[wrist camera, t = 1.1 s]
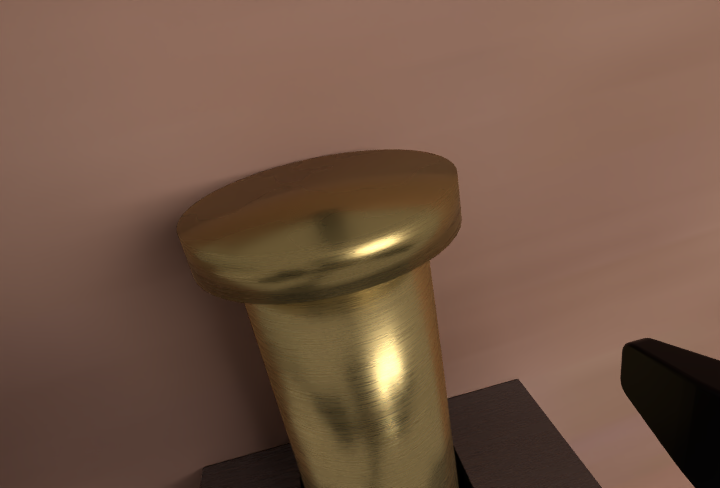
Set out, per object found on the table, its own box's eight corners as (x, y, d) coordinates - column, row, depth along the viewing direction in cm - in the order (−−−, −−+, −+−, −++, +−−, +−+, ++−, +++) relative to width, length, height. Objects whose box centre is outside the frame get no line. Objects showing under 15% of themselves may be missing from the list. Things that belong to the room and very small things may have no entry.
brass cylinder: (459, 510, 20) (533, 686, 14) (321, 553, 19) (343, 753, 14) (410, 136, 13) (512, 198, 8) (197, 183, 13) (146, 286, 7)
